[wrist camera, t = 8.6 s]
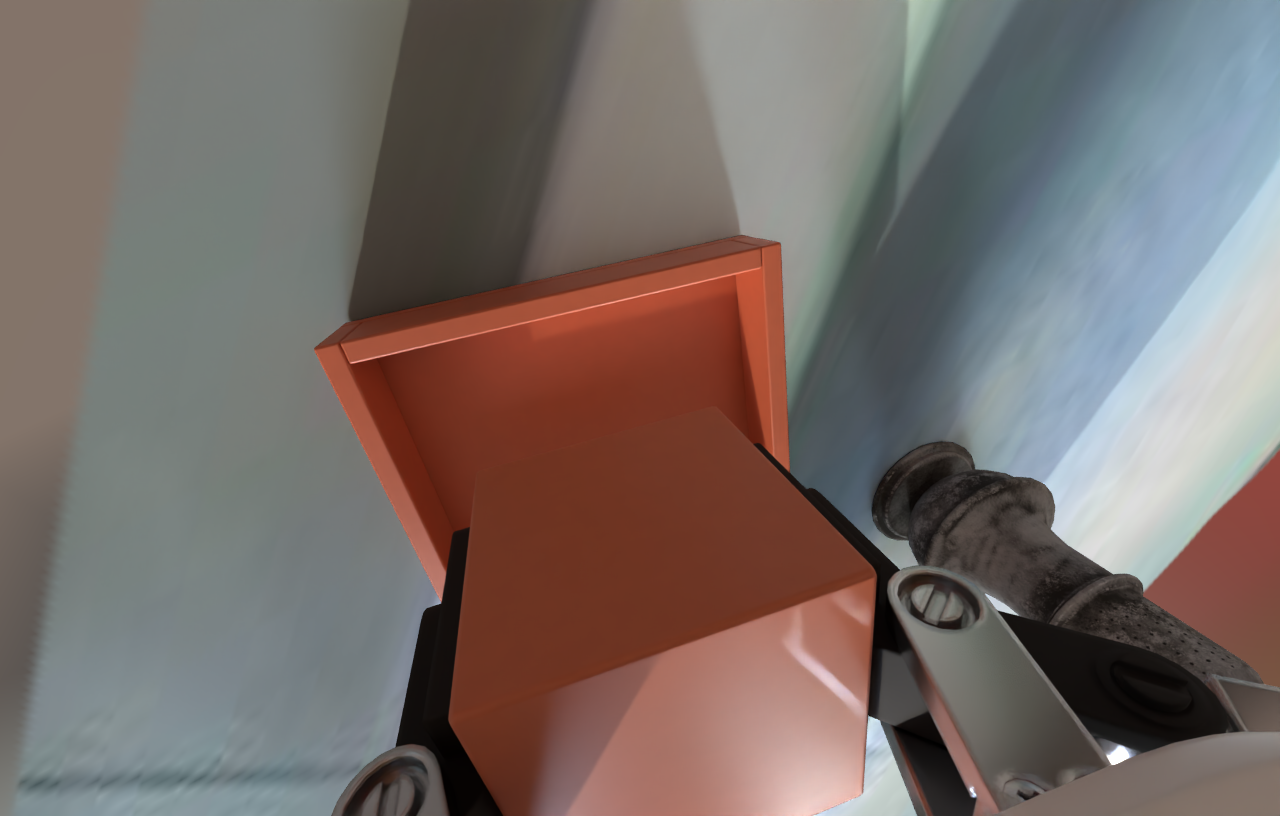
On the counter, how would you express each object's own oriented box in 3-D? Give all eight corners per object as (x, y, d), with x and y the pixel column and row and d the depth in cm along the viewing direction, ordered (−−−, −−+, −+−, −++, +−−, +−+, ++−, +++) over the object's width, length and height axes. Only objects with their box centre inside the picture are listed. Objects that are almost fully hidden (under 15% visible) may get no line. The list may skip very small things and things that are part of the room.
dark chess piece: (867, 457, 20) (1251, 745, 10) (986, 419, 21) (1459, 648, 11) (865, 559, 23) (1165, 872, 12) (970, 521, 24) (1338, 787, 13)
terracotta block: (715, 403, 10) (881, 570, 6) (735, 577, 12) (865, 796, 8) (474, 470, 9) (443, 722, 5) (541, 642, 11) (563, 925, 7)
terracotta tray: (743, 234, 15) (781, 241, 13) (760, 471, 19) (792, 507, 17) (344, 322, 14) (312, 348, 11) (454, 562, 18) (446, 615, 15)
